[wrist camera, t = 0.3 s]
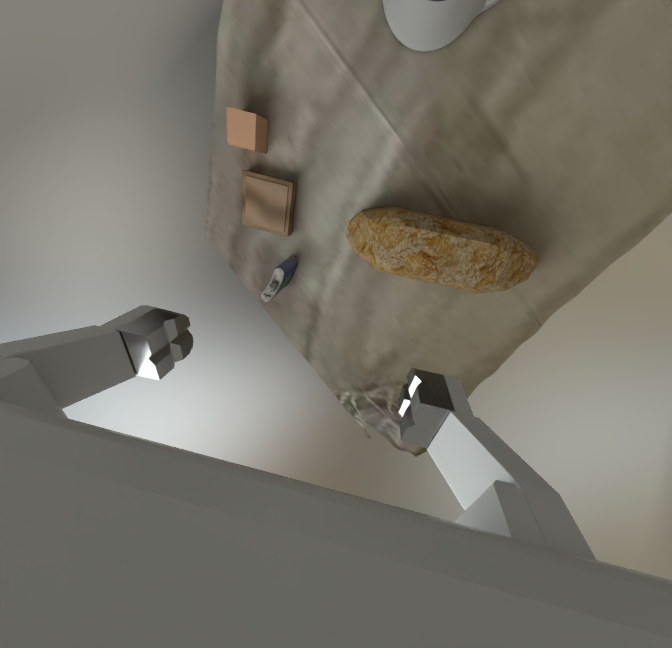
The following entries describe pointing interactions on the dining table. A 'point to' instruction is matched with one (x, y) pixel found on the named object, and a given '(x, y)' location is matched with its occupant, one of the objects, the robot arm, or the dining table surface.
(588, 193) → the dining table surface
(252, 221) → the walnut plinth
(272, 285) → the flask
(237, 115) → the terracotta block
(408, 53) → the dining table surface
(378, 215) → the bread
